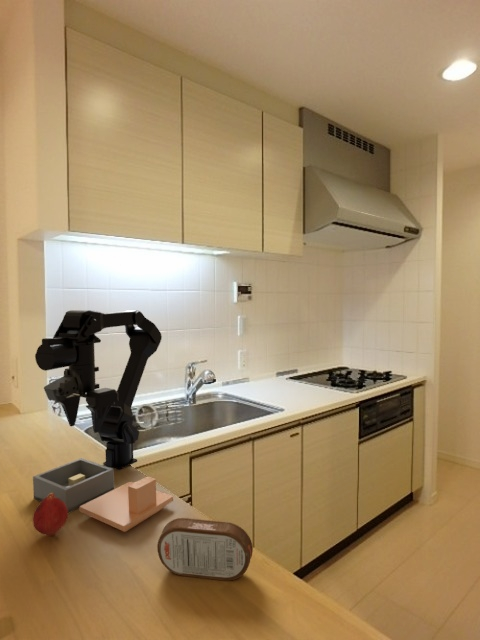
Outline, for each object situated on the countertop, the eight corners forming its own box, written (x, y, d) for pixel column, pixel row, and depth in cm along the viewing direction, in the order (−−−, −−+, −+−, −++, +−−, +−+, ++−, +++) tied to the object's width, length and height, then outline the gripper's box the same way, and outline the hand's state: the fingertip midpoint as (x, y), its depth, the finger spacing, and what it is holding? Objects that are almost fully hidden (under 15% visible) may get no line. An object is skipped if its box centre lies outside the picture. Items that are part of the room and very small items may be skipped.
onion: (33, 548, 71) (32, 504, 70) (33, 531, 76) (32, 490, 75) (69, 539, 73) (68, 496, 73) (67, 523, 78) (65, 483, 78)
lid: (130, 492, 91) (129, 459, 90) (173, 507, 84) (172, 472, 83) (79, 518, 80) (78, 481, 80) (124, 539, 73) (122, 499, 72)
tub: (81, 478, 98) (81, 458, 98) (114, 490, 92) (113, 469, 92) (33, 498, 88) (32, 476, 88) (66, 514, 82) (65, 490, 82)
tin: (253, 573, 64) (252, 521, 63) (250, 587, 61) (249, 532, 60) (162, 563, 66) (161, 513, 66) (155, 576, 63) (154, 524, 63)
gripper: (26, 365, 93) (28, 431, 94) (75, 372, 83) (77, 447, 83) (69, 359, 102) (71, 419, 103) (118, 364, 92) (120, 432, 93)
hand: (84, 429), depth 95 cm, fingers open, 9 cm apart
